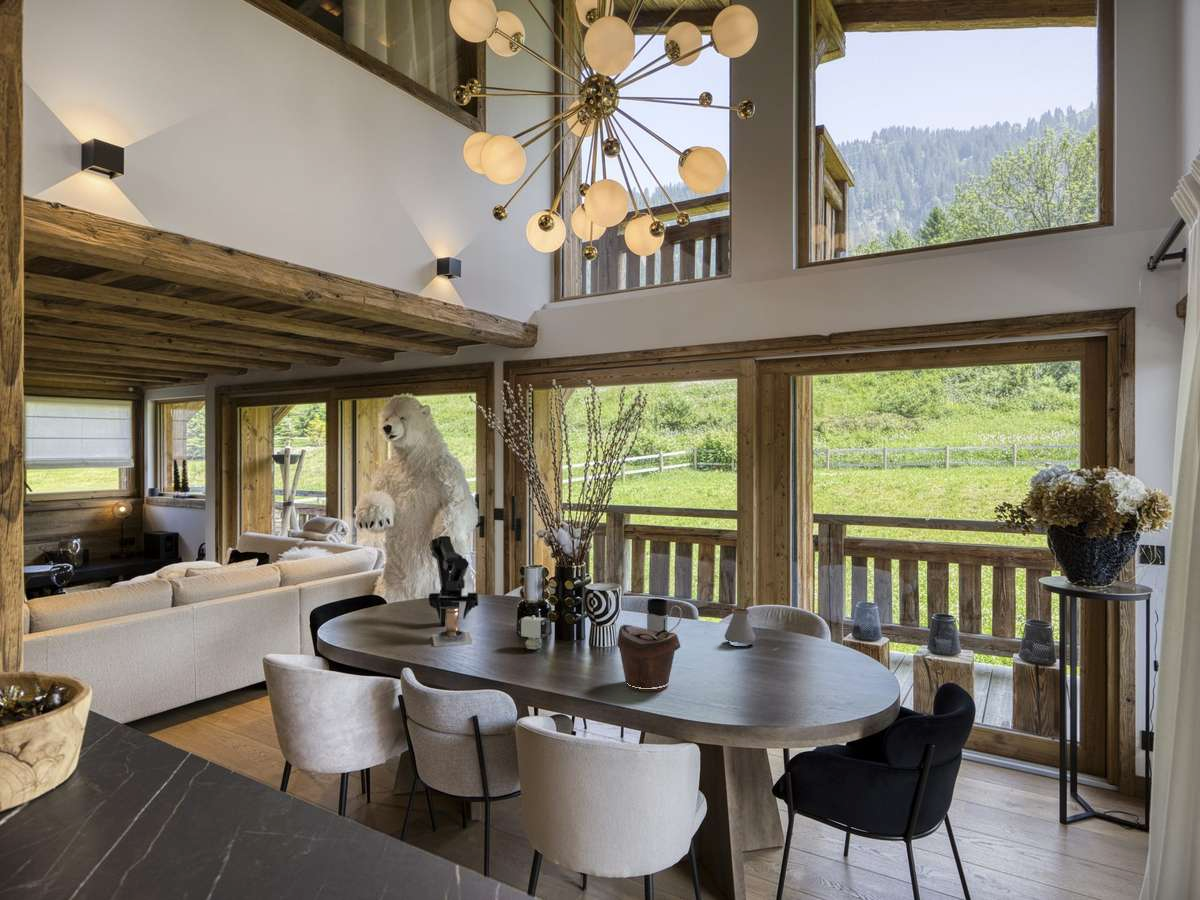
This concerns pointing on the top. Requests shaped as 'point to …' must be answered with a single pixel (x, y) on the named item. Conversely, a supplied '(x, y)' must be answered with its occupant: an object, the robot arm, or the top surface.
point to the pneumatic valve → (533, 630)
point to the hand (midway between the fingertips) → (451, 618)
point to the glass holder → (658, 615)
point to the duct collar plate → (451, 639)
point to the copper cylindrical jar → (452, 621)
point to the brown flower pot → (646, 656)
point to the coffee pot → (740, 626)
